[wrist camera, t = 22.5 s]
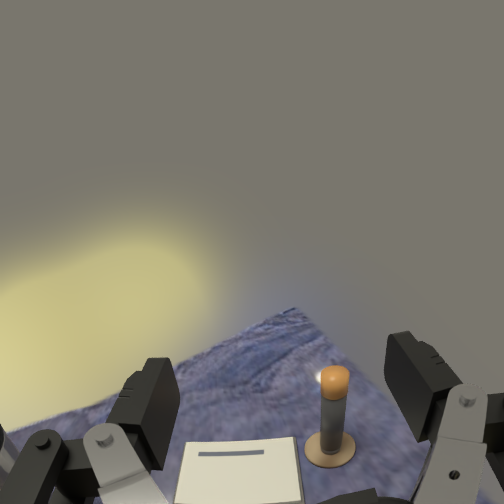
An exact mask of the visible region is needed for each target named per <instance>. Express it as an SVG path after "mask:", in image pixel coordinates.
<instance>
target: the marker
mask: <svg viewBox="0 0 504 504" xmlns="http://www.w3.org/2000/svg"><path fill="white" fill-rule="evenodd" d="M348 384H349V371H348V370H347V369H346V368H345V367H342V366H329V367H326V368H325V369H323V370H322V372H321V427H320V449H321V451H322V453H324V454H326V455H334V454H336V453H338V452H339V451H340V449H341V445H342V439H343V430H344V420H345V410H346V399H347V393H348Z"/></svg>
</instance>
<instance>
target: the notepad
mask: <svg viewBox="0 0 504 504" xmlns="http://www.w3.org/2000/svg"><path fill="white" fill-rule="evenodd" d="M173 504H305V503H304V496H303V488H302V481H301V474H300V466H299V459H298V452H297V445H296V438H295V437H287V438H277V439H266V440H252V441H233V442H186V443H185V445H184V450H183V455H182V460H181V465H180V470H179V475H178V480H177V485H176V490H175V495H174V500H173Z"/></svg>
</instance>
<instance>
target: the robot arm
mask: <svg viewBox="0 0 504 504" xmlns="http://www.w3.org/2000/svg"><path fill="white" fill-rule="evenodd" d="M384 376H385V381H386V383H387V385H388V387H389V389H390V391H391V393H392V395H393V397H394V398H395V400H396V402H397V404H398V406H399V408H400V410H401V412H402V414H403V416H404V417H405V419H406V421H407V423H408V425H409V427H410V429H411V431H412V433H413V435H414V437H415V439H416V441H417V443H419V442H422V441H425V440H428V439H429V441H430V443H431V445H430V448H429V450H428V453H427V456H426V459H425V462H424V464H423V467H422V470H421V472H420V475H419V477H418V480H417V482H416V485H415V487H414V489H413V492H412V494H411V496H410V498H409V500H408V501H407V500H404V499H400V498H394V497H377V493H376V490H375V488H371V489H367V490H363V491H358V492H354V493H349V494H344V495H339V496H336V497H334V498H331V499H329V500H326V501H323V502H321V503H318V504H475V501H476V497H477V493H478V489H479V485H480V480H481V476H482V471H483V466H484V461H485V457H486V458H487V460H488V462H489V464H490V466H491V468H492V470H493V471H494V473H495V475H496V477H497V479H498V481H499V483H500V485H501V487H502V489H503V491H504V393H498V394H486V393H485V391H484V390H483V389H482V388H480V387H479V386H476V385H473V384H463V383H462V382H461V380H460V379H459V378H458V377H457V375H456V374H455V373H454V372H453V370H452V369H451V368H450V367H449V366H448V364H447V363H445V361H444V360H443V358H442V357H441V356H439V354H438V353H437V352H436V350H435V349H434V348H433V347H432V346H430V345H428V344H427V343H425V342H423V341H420V342H418V341H417V340H416V339H415V338H414V336H413V335H412V334H411V333H410V332H409V331H405V332H400V333H394V334H390V335H389V336H388V340H387V348H386V356H385V365H384ZM122 389H123V390H121V392H120V394H119V398H117V400H116V402H115V404H114V406H113V408H112V410H111V412H110V414H109V416H108V418H107V420H106V422H105V423H103V424H99V425H96V426H94V427H92V428H91V429H90V430H89V431H88V432H87V433H86V434H85V436H84V438H83V439H75V440H65V441H63V440H62V438H61V437H60V435H59V434H58V433H57V432H56V431H54V430H49V429H46V430H41V431H38V432H36V433H34V434H33V435H32V436H31V437H30V438H29V439H28V440H27V442H26V444H25V446H24V447H23V449H22V451H21V453H20V452H19V451H18V449H17V448H16V446H15V445H14V444H13V442H12V441H11V440H10V438H9V437H8V435H7V434H6V432H5V431H4V429H3V428H2V426H1V424H0V504H93V501H94V498H95V497H99V496H100V497H101V499H102V501H103V503H104V504H169V503H168V502H167V500H166V499H165V497H164V496H163V494H162V493H161V491H160V490H159V488H158V487H157V485H156V484H155V482H154V481H153V479H152V478H151V476H150V473H151V470H161V471H163V467H164V463H165V459H166V455H167V451H168V447H169V443H170V440H171V436H172V432H173V428H174V424H175V420H176V416H177V413H178V409H179V405H180V393H179V388H178V385H177V382H176V378H175V375H174V371H173V368H172V364H171V361H170V359H169V358H148V359H147V361H146V363H145V365H144V367H143V370H142V371H136V372H135V373H133V374H132V375H131V376H130V377H129V378H128V379H127V380H126V382H125V384H124V386H123V388H122ZM54 486H55V490H54V492H53V493H52V491H53V489H54Z"/></svg>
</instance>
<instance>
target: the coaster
mask: <svg viewBox="0 0 504 504" xmlns="http://www.w3.org/2000/svg"><path fill="white" fill-rule="evenodd" d="M354 453H355V442H354V440H353V438H352V437H351V436H350V435H349V434H347V433H345V432H343V439H342V445H341V449H340V451H339V452H338V453H336V454H334V455H326V454H324V453H322V451H321V449H320V432H317V433H315V434H314V435H312V436H311V437H310V438H309V439H308V440H307V442H306V444H305V455H306V458H307V459H308V460H309V461H310V462H311V463H312V464H314V465H316V466H318V467H322V468H336V467H339V466H342V465H344V464H346V463H347V462H348V461H350V460H351V458H352V457H353V455H354Z"/></svg>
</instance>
